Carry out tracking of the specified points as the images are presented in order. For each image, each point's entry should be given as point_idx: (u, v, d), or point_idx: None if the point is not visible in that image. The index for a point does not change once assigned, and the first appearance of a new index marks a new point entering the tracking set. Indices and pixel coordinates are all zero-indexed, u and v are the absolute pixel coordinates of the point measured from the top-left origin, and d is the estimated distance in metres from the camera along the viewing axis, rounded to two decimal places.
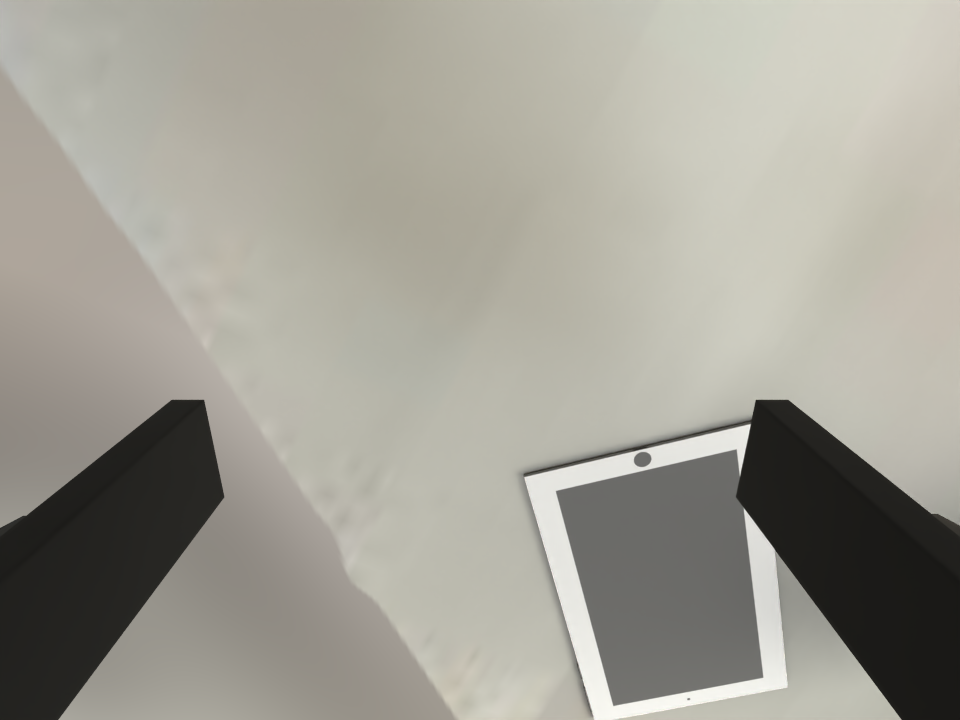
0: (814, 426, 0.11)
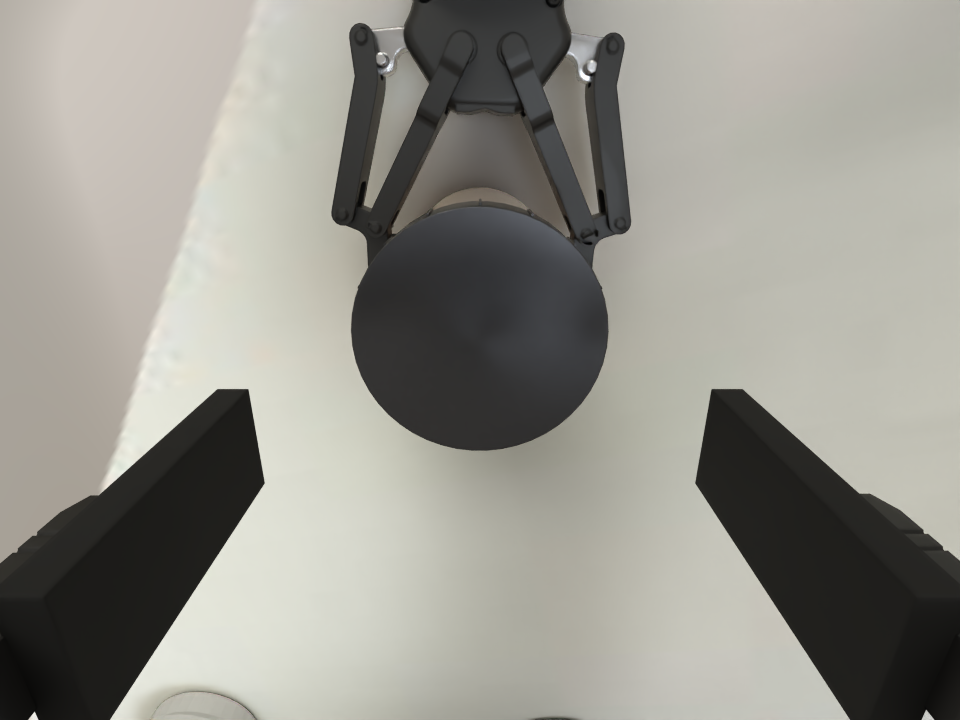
0: (762, 413, 0.12)
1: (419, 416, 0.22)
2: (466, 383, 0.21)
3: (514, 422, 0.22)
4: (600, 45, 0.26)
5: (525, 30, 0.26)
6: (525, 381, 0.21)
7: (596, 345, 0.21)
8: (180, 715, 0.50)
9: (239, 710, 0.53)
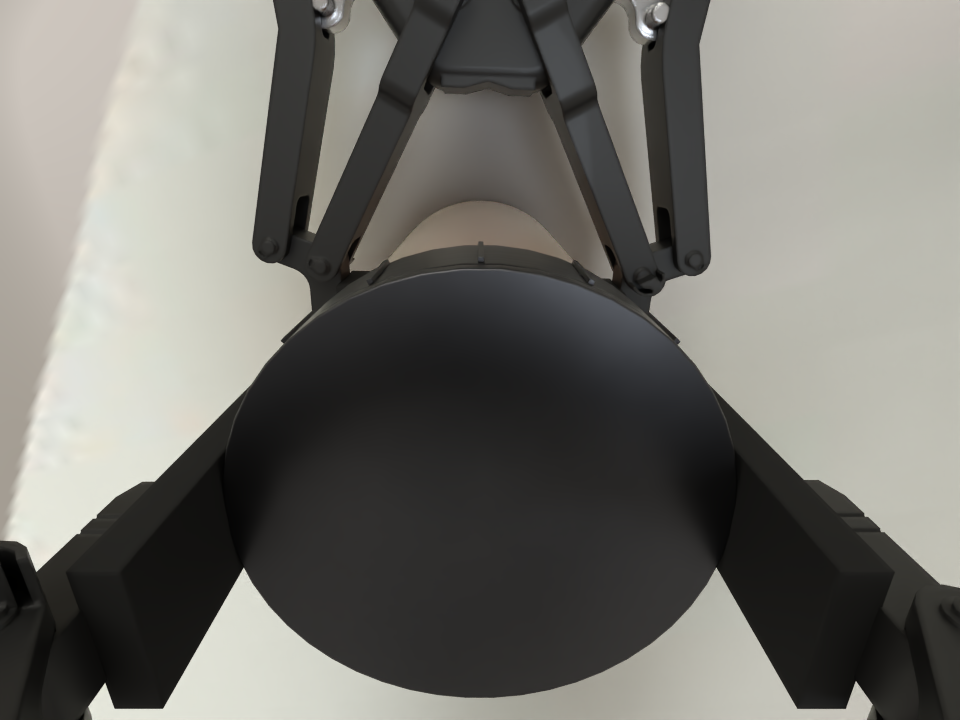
0: (722, 404, 0.12)
1: (366, 646, 0.12)
2: (454, 594, 0.11)
3: (545, 655, 0.12)
4: None
5: None
6: (567, 590, 0.11)
7: (710, 531, 0.10)
8: None
9: None
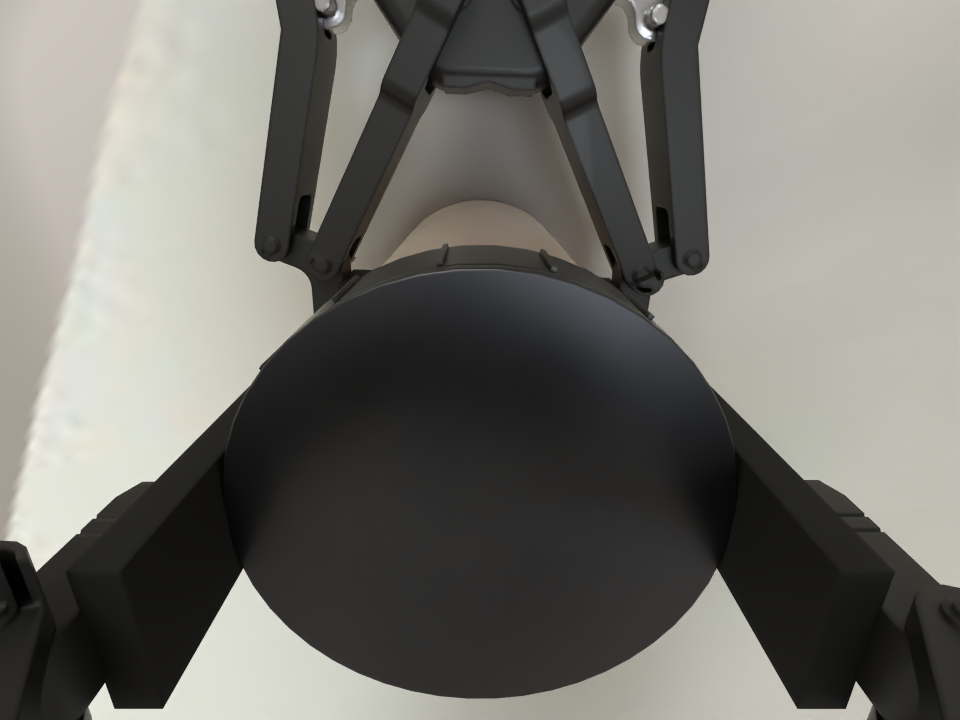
0: (722, 404, 0.12)
1: (600, 643, 0.12)
2: (562, 561, 0.11)
3: (681, 500, 0.10)
4: None
5: None
6: (597, 462, 0.10)
7: (563, 306, 0.09)
8: None
9: None
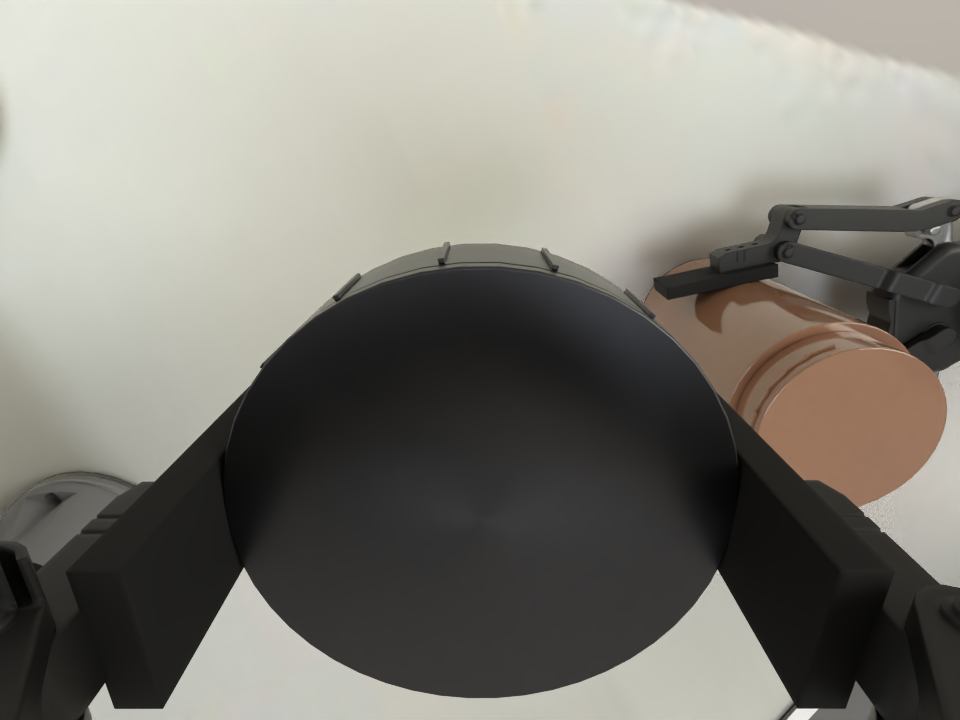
0: (722, 404, 0.12)
1: (601, 643, 0.11)
2: (564, 560, 0.11)
3: (682, 499, 0.10)
4: None
5: None
6: (598, 461, 0.10)
7: (564, 304, 0.09)
8: None
9: None
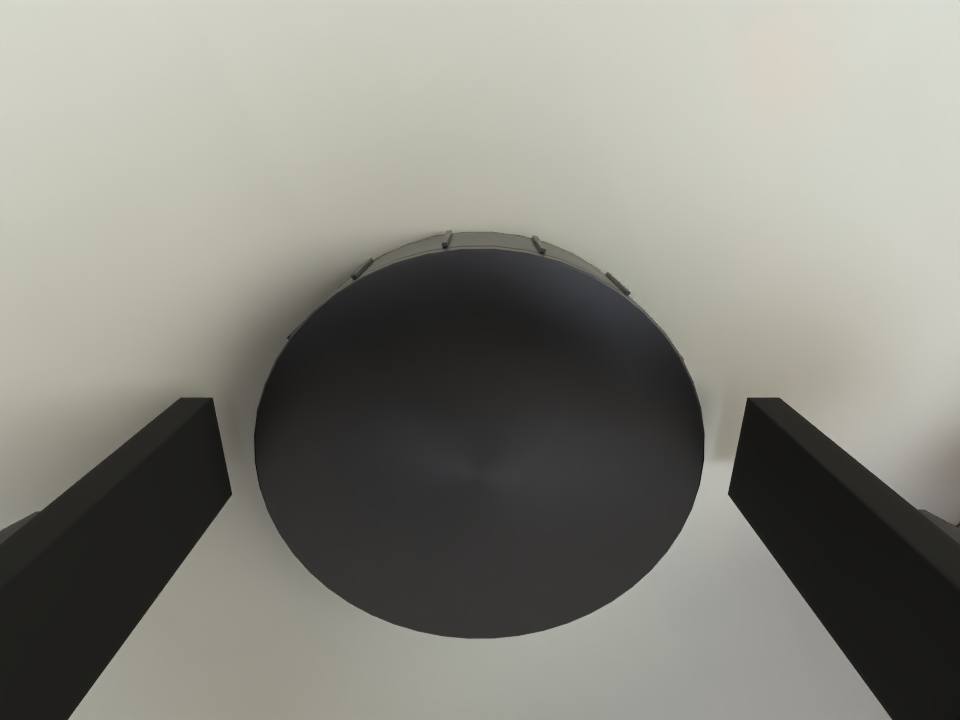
0: (804, 423, 0.11)
1: (586, 586, 0.13)
2: (552, 510, 0.12)
3: (655, 455, 0.12)
4: None
5: None
6: (581, 420, 0.11)
7: (550, 282, 0.10)
8: None
9: None
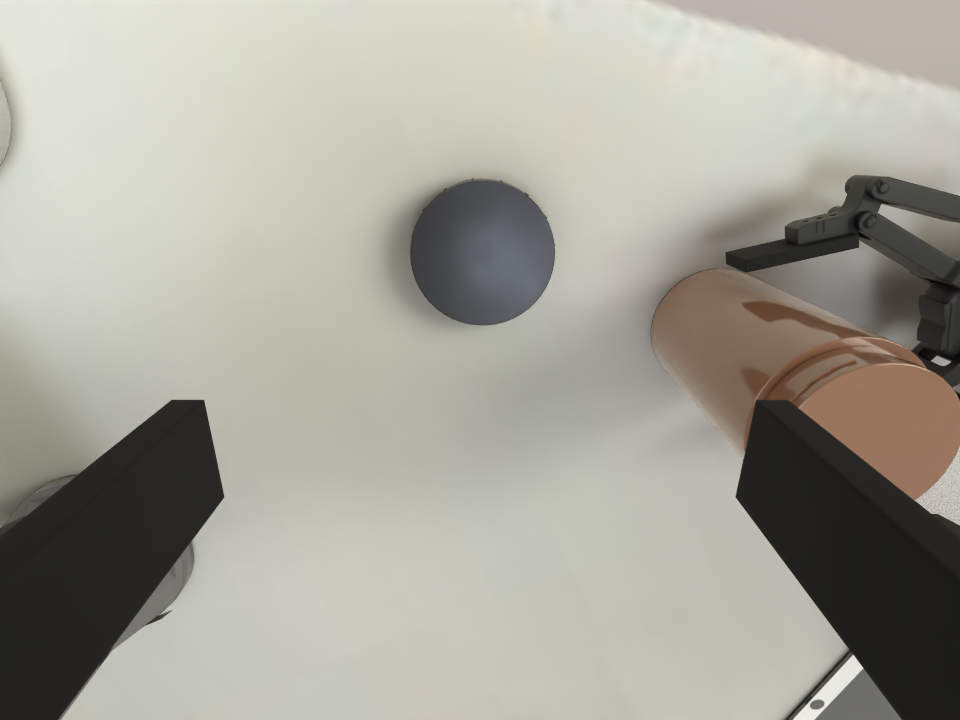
0: (814, 426, 0.11)
1: (519, 302, 0.38)
2: (506, 270, 0.37)
3: (538, 249, 0.36)
4: None
5: None
6: (514, 236, 0.36)
7: (503, 190, 0.35)
8: None
9: (0, 151, 0.36)
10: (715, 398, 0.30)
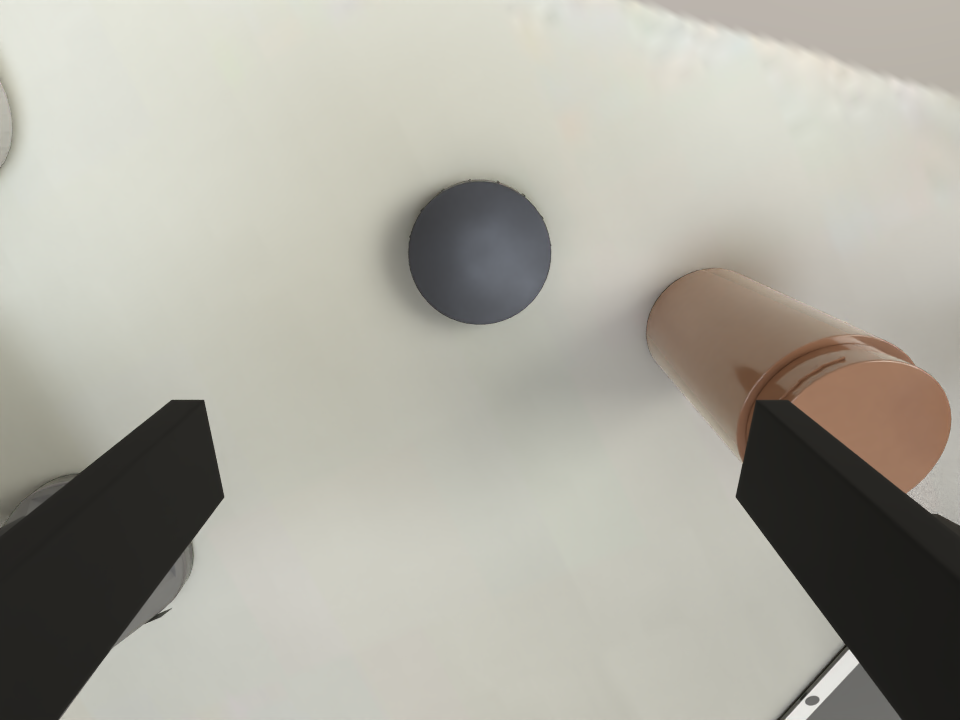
0: (814, 426, 0.11)
1: (516, 301, 0.38)
2: (503, 270, 0.37)
3: (535, 249, 0.37)
4: None
5: None
6: (511, 237, 0.36)
7: (500, 191, 0.35)
8: None
9: (1, 153, 0.36)
10: (708, 396, 0.30)
